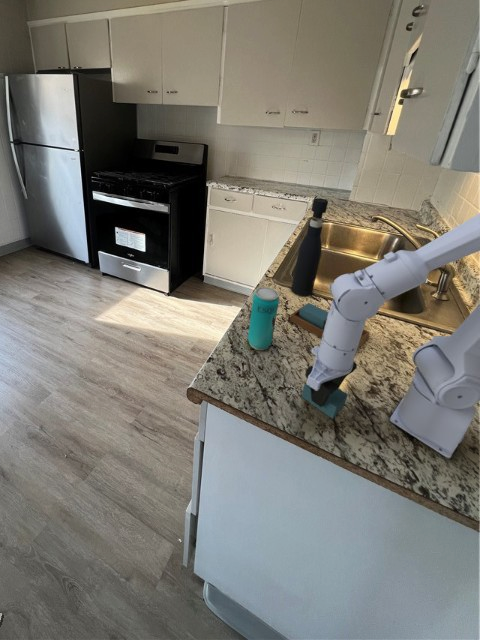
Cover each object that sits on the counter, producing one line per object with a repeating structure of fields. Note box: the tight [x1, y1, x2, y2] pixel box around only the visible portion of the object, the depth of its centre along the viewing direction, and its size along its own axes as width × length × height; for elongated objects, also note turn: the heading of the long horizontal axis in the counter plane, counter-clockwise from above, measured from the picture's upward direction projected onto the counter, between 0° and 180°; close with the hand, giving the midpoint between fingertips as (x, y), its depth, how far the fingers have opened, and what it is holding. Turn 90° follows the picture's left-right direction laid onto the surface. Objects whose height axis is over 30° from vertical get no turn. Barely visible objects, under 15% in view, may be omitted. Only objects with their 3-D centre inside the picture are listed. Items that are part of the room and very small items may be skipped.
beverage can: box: [247, 286, 280, 351], centre depth 74 cm, size 6×6×15 cm
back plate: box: [289, 304, 371, 350], centre depth 83 cm, size 17×9×2 cm, turn 41°
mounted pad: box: [299, 302, 329, 329], centre depth 85 cm, size 7×4×3 cm, turn 41°
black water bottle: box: [291, 197, 329, 297], centre depth 94 cm, size 6×6×30 cm
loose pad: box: [301, 383, 349, 420], centre depth 60 cm, size 6×4×3 cm
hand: (324, 395), depth 60 cm, fingers closed on loose pad, 4 cm apart
